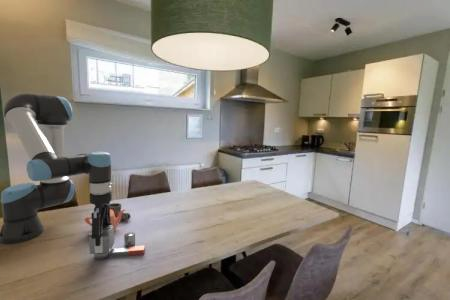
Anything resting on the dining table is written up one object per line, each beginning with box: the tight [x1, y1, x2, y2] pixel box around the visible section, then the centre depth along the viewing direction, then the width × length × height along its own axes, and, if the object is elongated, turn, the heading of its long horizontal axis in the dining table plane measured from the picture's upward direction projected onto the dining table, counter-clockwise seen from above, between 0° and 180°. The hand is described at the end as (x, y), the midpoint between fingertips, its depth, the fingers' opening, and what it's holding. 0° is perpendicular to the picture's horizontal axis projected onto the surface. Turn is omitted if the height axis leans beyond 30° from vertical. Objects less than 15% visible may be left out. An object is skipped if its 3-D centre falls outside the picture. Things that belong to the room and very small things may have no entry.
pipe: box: [110, 202, 131, 221], centre depth 123 cm, size 6×13×8 cm, turn 77°
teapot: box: [84, 208, 127, 233], centre depth 110 cm, size 12×18×10 cm, turn 118°
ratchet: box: [93, 245, 146, 261], centre depth 91 cm, size 19×6×7 cm, turn 102°
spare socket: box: [123, 231, 136, 248], centre depth 98 cm, size 4×4×5 cm
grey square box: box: [88, 225, 115, 255], centre depth 90 cm, size 7×7×8 cm
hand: (102, 246), depth 90 cm, fingers open, 7 cm apart
